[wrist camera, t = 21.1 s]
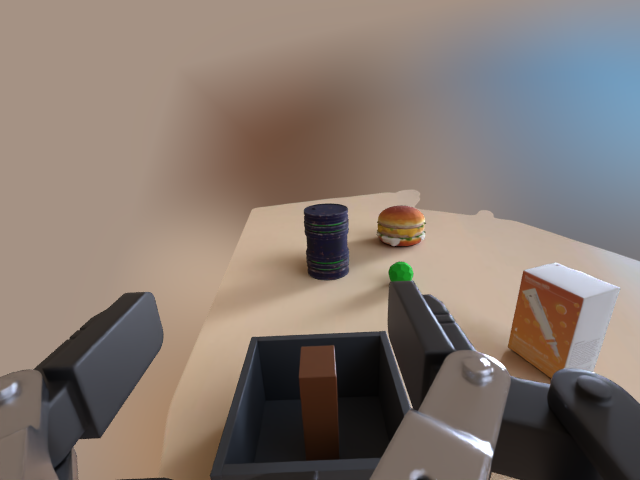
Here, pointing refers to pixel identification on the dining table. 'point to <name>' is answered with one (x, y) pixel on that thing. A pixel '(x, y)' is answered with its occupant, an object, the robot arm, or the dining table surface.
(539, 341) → the small box
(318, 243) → the navy striped cylinder
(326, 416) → the chocolate carton
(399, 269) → the polyhedron
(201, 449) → the dining table surface
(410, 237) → the burger
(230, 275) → the dining table surface
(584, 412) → the robot arm
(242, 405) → the waste bin
